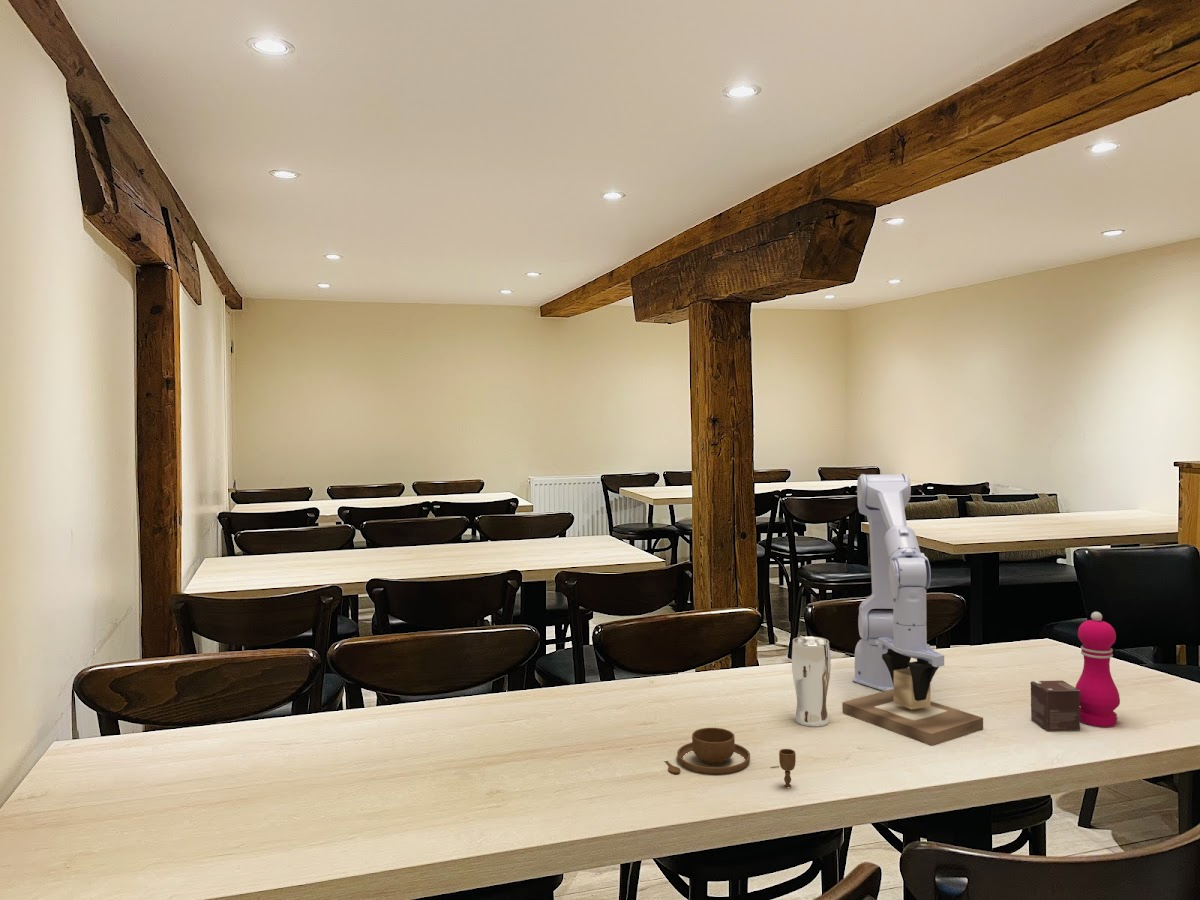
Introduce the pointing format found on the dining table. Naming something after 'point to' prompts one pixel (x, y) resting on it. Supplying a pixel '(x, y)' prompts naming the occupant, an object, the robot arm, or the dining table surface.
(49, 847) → the dining table surface
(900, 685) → the maple block
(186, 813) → the dining table surface
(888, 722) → the walnut board
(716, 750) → the place setting
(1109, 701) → the pepper mill
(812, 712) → the beer glass
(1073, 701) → the box
